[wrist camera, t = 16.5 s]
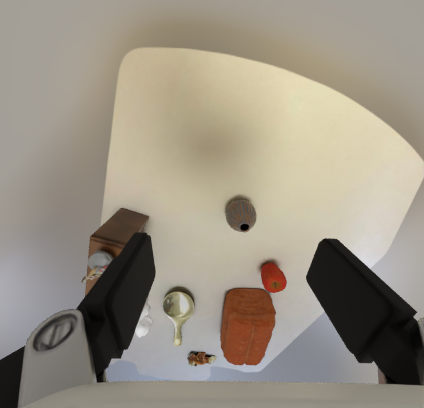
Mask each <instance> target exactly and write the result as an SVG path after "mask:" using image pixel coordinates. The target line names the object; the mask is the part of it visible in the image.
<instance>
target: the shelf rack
mask: <svg viewBox="0 0 424 408" xmlns="http://www.w3.org/2000/svg"><path fill="white" fill-rule="evenodd" d="M148 219H149V216H146V215H143V214H140V213H136V212H133V211H130V210H127V209H124V208H121V209H120V210H119V211H118V212H116V213H115V214H114V215H113V216H112V217H111V218H110V219H109V220H108V221H107V222H106V223H105V224H103V225H102V226H101V227H100V228H99V229H98V230H97V231H96V232H95V233H94V234H93V235H92V236H90V245H89V256H88V259H89V258H90V256H92V255H93V254H94V252H95V251H97V250H101V251H105V252H107V253H109V254H111V256H112V257H113V258H115V257H117V256H118V255H119V254H120V252H121V251H122V249H123V248H124V247H125V245H126V244H127V242H128V241H129V240H130V238H131V237H132V235H133V234H134V233H135V232H141V231H142V228H143V227H144V225H145V224H146V222H147V221H148ZM91 271H92V269H91V268H90V267H89V266H88V268H87V277H88V275H89V274H90V272H91ZM101 275H102V274H99V275H98V276H101ZM98 276H95V277H97V278H95V277H94V278H93V277H89V278H92V280H91V279H88V280H86V293H85V296H86V295H87V294H88V292H89V291H90V290H91V288H92V287H93V286H94V284H95V283H96V281H97V280H98V279H99V277H98Z"/></svg>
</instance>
